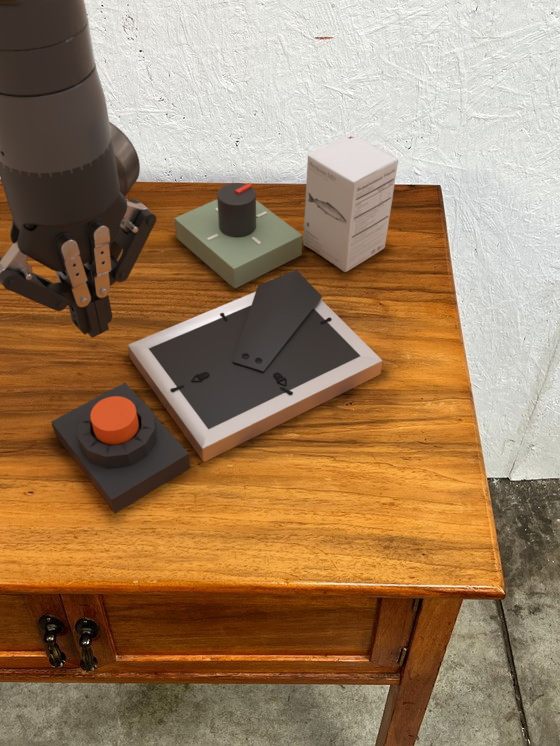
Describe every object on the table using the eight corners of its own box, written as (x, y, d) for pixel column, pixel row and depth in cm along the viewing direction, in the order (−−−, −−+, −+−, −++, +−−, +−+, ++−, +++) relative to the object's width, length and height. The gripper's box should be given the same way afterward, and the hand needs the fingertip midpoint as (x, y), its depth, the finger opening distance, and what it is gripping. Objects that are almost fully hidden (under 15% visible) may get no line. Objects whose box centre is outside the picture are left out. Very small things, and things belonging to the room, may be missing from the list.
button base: (55, 436, 74) (46, 409, 71) (128, 396, 77) (122, 369, 74) (115, 513, 68) (108, 488, 65) (190, 467, 72) (187, 441, 69)
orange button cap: (85, 424, 70) (81, 410, 69) (124, 403, 72) (121, 389, 70) (108, 452, 68) (104, 438, 67) (147, 430, 70) (144, 416, 68)
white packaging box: (300, 245, 94) (304, 153, 85) (343, 221, 97) (352, 130, 88) (344, 275, 90) (353, 182, 81) (387, 249, 94) (400, 156, 84)
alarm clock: (147, 204, 99) (130, 84, 87) (129, 229, 96) (109, 107, 84) (70, 189, 101) (44, 69, 89) (49, 212, 98) (19, 91, 86)
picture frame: (295, 288, 89) (130, 358, 81) (296, 269, 86) (126, 339, 79) (380, 374, 80) (203, 462, 72) (383, 355, 78) (201, 443, 70)
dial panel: (176, 238, 95) (173, 216, 92) (241, 208, 99) (241, 187, 97) (234, 289, 88) (233, 267, 86) (301, 255, 93) (302, 233, 90)
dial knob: (236, 242, 89) (234, 207, 86) (211, 225, 91) (209, 190, 88) (263, 226, 91) (263, 191, 88) (239, 210, 94) (237, 175, 90)
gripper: (-21, 201, 45) (42, 395, 58) (170, 126, 51) (189, 318, 63) (-73, 144, 49) (-3, 338, 62) (110, 81, 54) (139, 271, 67)
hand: (95, 328), depth 62 cm, fingers closed
